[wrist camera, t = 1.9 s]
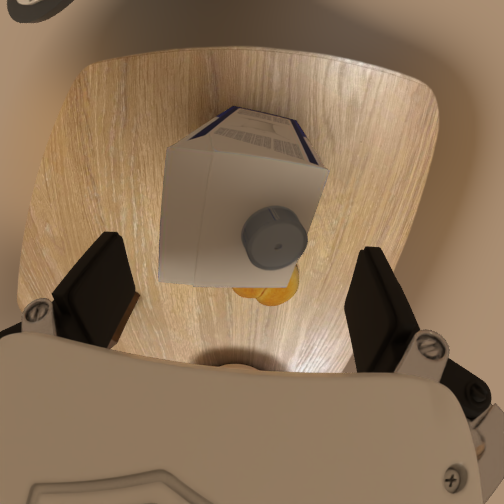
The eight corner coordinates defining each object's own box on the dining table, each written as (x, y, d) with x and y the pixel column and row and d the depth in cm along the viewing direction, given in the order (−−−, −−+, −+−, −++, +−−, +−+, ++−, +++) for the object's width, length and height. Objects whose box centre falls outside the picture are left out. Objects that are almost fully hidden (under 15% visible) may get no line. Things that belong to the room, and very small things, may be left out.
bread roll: (280, 302, 41) (280, 322, 38) (223, 279, 39) (219, 299, 36) (311, 262, 37) (315, 281, 33) (249, 233, 35) (247, 251, 32)
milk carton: (233, 104, 26) (165, 145, 10) (297, 119, 27) (339, 185, 10) (220, 166, 30) (157, 286, 14) (280, 179, 31) (287, 314, 14)
